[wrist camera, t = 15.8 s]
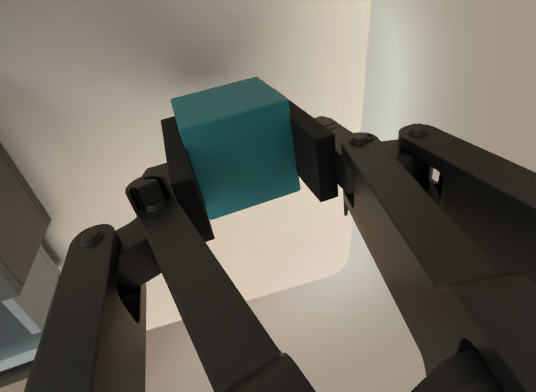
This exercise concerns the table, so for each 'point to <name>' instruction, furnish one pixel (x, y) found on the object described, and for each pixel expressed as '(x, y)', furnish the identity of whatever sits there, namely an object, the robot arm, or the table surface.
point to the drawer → (26, 319)
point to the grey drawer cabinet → (17, 228)
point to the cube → (238, 144)
